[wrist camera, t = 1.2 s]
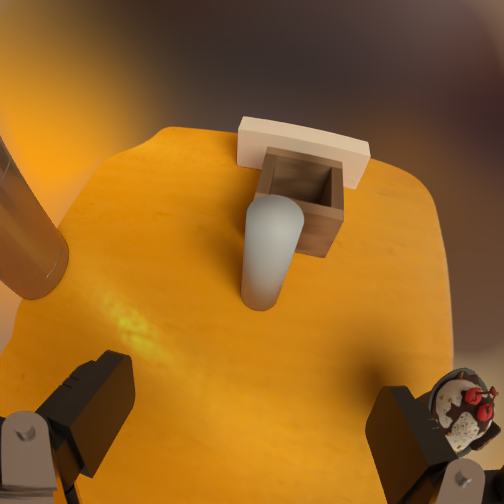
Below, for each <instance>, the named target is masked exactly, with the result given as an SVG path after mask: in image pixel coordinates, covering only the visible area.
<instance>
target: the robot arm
mask: <svg viewBox="0 0 504 504" xmlns="http://www.w3.org/2000/svg"><path fill="white" fill-rule="evenodd" d="M67 263H68V246H67V244H66V241H65V240H64V238H63V237H62V235H61V234H60V233H59V231H58V230H57V229H56V227H55V226H54V224H53V223H52V221H51V220H50V218H49V217H48V215H47V214H46V212H45V211H44V209H43V208H42V206H41V205H40V204H39V202H38V200H37V199H36V197H35V196H34V194H33V193H32V191H31V189H30V188H29V186H28V184H27V183H26V181H25V179H24V178H23V176H22V174H21V173H20V171H19V169H18V168H17V166H16V164H15V162H14V160H13V159H12V157H11V155H10V153H9V152H8V150H7V148H6V146H5V144H4V142H3V140H2V138H1V136H0V280H1V281H2V282H3V283H4V284H5V285H7V286H8V287H9V288H10V289H12V290H13V291H14V292H15V293H16V294H18V295H19V296H20V297H22V298H24V299H28V300H34V299H38V298H41V297H43V296H45V295H46V294H48V293H49V292H50V291H51V290H52V289H54V288H55V287H56V285H57V284H58V283H59V281H60V280H61V278H62V276H63V274H64V272H65V270H66V267H67ZM134 401H135V386H134V377H133V368H132V360H131V357H130V356H129V355H125V354H121V353H118V352H114V351H111V350H107V351H105V352H104V353H103V354H102V355H101V357H100V358H99V359H98V360H97V361H96V362H95V361H92V360H91V361H89V362H87V363H85V364H82V365H80V366H78V367H77V368H76V369H75V370H74V371H73V372H72V374H71V375H70V377H69V378H67V379H66V380H65V381H64V382H63V384H62V385H60V386H59V387H58V388H57V389H56V390H55V391H54V392H53V393H52V394H51V395H50V396H49V398H48V399H47V400H46V401H45V402H44V403H43V404H42V405H41V406H40V407H39V408H38V409H37V410H36V411H35V412H30V411H19V412H16V413H13V414H11V415H10V416H8V417H7V418H4V417H1V416H0V504H83V503H82V500H81V497H80V493H79V490H78V486H77V483H76V481H75V480H76V479H77V477H78V475H79V474H80V473H81V474H83V475H85V476H88V477H90V478H93V476H94V475H95V473H96V471H97V469H98V467H99V466H100V464H101V462H102V460H103V459H104V457H105V455H106V453H107V451H108V450H109V448H110V446H111V444H112V443H113V441H114V439H115V437H116V436H117V434H118V432H119V431H120V429H121V427H122V425H123V424H124V422H125V420H126V418H127V417H128V415H129V413H130V412H131V410H132V408H133V405H134ZM439 427H440V426H439V425H438V423H437V421H436V420H434V417H433V415H432V413H431V412H430V410H429V409H428V407H426V406H425V405H424V404H423V403H421V402H420V401H419V400H418V399H414V397H413V395H412V394H411V392H410V391H409V389H408V388H407V387H406V386H385V387H383V388H382V389H381V391H380V393H379V395H378V397H377V400H376V402H375V404H374V406H373V409H372V411H371V413H370V415H369V417H368V419H367V422H366V428H365V433H366V438H367V441H368V444H369V447H370V450H371V453H372V456H373V459H374V462H375V465H376V468H377V471H378V474H379V477H380V481H381V484H382V487H383V490H384V493H385V497H386V500H387V503H388V504H504V465H503V467H502V468H501V469H500V470H486V471H485V470H484V471H483V469H482V468H481V466H480V465H479V464H478V463H476V462H474V461H473V460H470V459H464V458H461V459H459V458H458V456H457V455H456V453H455V451H454V450H453V448H452V446H451V445H450V443H449V441H448V439H447V438H446V436H445V435H444V433H443V431H442V430H441V429H439Z"/></svg>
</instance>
